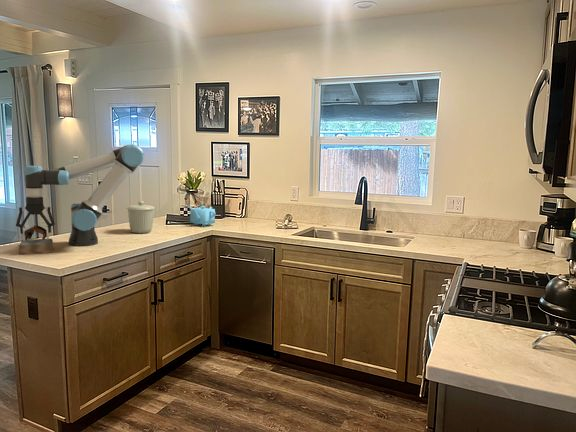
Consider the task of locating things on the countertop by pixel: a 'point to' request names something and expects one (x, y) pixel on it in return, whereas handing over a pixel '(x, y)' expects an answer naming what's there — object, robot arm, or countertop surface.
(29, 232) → the brown headphones
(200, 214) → the teakettle
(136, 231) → the canister
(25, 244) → the walnut plinth
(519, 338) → the countertop surface
